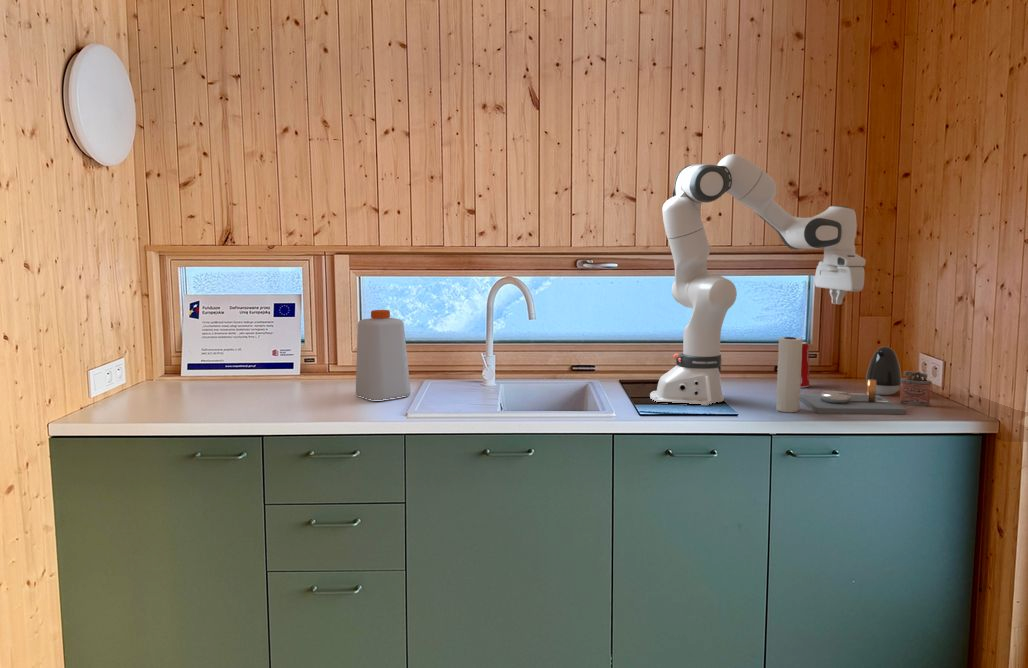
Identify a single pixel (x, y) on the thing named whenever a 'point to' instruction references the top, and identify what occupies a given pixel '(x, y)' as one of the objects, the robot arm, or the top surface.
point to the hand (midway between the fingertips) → (836, 304)
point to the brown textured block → (915, 389)
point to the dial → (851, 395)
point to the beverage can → (805, 365)
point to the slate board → (851, 406)
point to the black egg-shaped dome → (885, 371)
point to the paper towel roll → (789, 374)
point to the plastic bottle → (381, 358)
